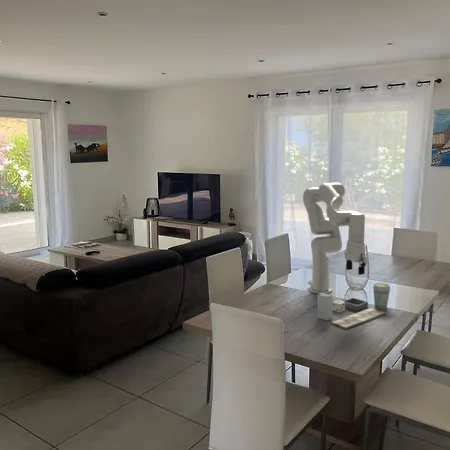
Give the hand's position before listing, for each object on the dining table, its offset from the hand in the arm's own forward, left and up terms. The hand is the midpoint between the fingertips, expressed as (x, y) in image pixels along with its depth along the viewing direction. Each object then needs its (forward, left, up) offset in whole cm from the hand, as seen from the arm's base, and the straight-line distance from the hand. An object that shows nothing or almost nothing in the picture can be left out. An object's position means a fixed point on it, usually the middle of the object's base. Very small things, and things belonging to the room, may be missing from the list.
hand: (355, 271), depth 226 cm
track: (+8, -7, -21) cm, 23 cm away
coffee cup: (+5, +15, -21) cm, 26 cm away
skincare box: (-3, -19, -21) cm, 28 cm away
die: (-6, -5, -21) cm, 22 cm away
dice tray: (-3, +5, -21) cm, 21 cm away
